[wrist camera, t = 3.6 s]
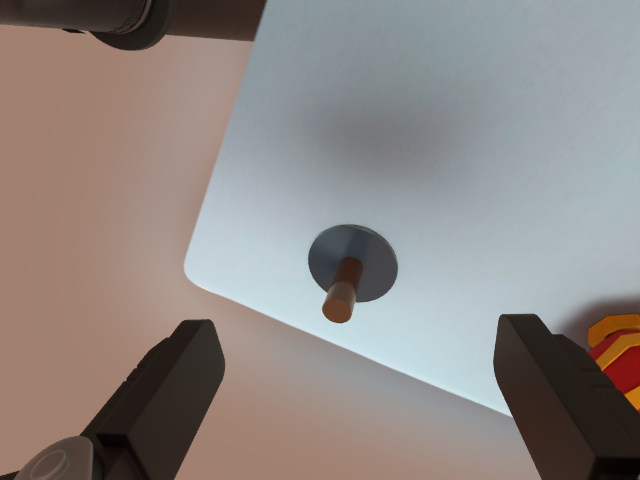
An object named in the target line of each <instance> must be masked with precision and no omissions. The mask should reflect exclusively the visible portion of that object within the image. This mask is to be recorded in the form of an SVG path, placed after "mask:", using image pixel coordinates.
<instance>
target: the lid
mask: <svg viewBox="0 0 640 480" xmlns="http://www.w3.org/2000/svg"><path fill="white" fill-rule="evenodd" d="M308 264H309V269H310V272H311V274H312V276H313V278H314V280H315V281H316V282H317V284H318V285H319V286H320V287H321V288H322V289H323V290H324V291H326V292H327V293H328V294H327V296H326V299H325V301H324V304H323V307H322V311H323V314H324V315H325V317H326V318H327V319H329V320H330V321H332V322H335V323H344V322H347V321H348V320H349V319H350V318H351V316H352V312H353V308H354V304H355V302H358V303H359V302H368V301H372V300H375V299H377V298H380V297H381V296H383V295H384V294H386V293H387V292H388V291H389V290H390V289H391V287H392V286H393V284H394V282H395V280H396V277H397V270H398V263H397V258H396V255H395V253H394V251H393V249H392V247H391V246H390V245H389V243H388V242H387V241H386V240H385V239H384V238H383V237H381V236H380V235H379V234H377V233H376V232H374V231H372V230H370V229H367V228H365V227H361V226H357V225H340V226H336V227H332V228H330V229H328V230H326V231H324V232H323V233H321V234H320V235H319V236H318V237H317V238H316V239H315V241H314V242H313V244H312V246H311V248H310V251H309V256H308Z"/></svg>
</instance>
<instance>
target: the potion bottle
mask: <svg viewBox="0 0 640 480" xmlns="http://www.w3.org/2000/svg"><path fill="white" fill-rule="evenodd" d="M588 345H590V346H591V347H593V348H592V349H591V350H590V352H589V355H590V356H591V357H592V358H593V359H594V361H595V362H596V363H597V364H598V365H599V366H600V368H601V371H602V372H605V373H606V375H607V376H608V377H609V378H610V379H611V380H612V382H613V383H614V384H615V387H616V389H619V390H620V391H621V392H622V393H623V394H624V395H625V397H626V398H627V399H628V400H629V401H630V402H631V404H632V405H633V406H634V407H635V408H636V409H637V411H638V412H639V413H640V316H639V315H637V314H628V315H614V316H607V317H605V318H604V319H602V320H601V321H599V322H598V323H596V324H595V325H593V326H592V327H590V328H589V329H588Z"/></svg>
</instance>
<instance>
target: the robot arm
mask: <svg viewBox="0 0 640 480" xmlns="http://www.w3.org/2000/svg"><path fill="white" fill-rule="evenodd" d="M154 4H155V0H0V24H2V25H15V26H30V27H43V28H57V29H62V30H65V31H67V32H70V33H84V32H81V31H79V30H85V31H100V32H106V33H111V34H123V35H124V34H131V33H134V32H136V31H138V30H139V29H141V28H142V27H143V26H144V25H145V24H146V22H147V21H148V20H149V18H150V16H151V14H152V11H153V8H154ZM493 365H494V372H495V377H496V380H497V383H498V386H499V388H500V390H501V392H502V394H503V396H504V399H505V401H506V403H507V405H508V407H509V409H510V412H511V414H512V416H513V418H514V420H515V422H516V425H517V427H518V429H519V431H520V433H521V435H522V437H523V440H524V442H525V444H526V446H527V449H528V451H529V453H530V455H531V457H532V459H533V461H534V463H535V466H536V468H537V470H538V472H539V475H540V477H541V479H542V480H640V413H639V412H638V411H637V409H636V408H635V407H634V406H633V405H632V404H631V402H630V401H629V400H628V399H627V398H626V397H625V395H624V394H623V393H622V392H621V391H620V390H619V389H616V387H615V384H614V383H613V382H612V380H611V379H610V378H609V377H608V376H607V375H606V373H605V372H602V371H601V368H600V366H599V365H598V364H597V363H596V362H595V361H594V359H593V358H592V357H591V356H590V355H589V354H588V352H587V351H586V350H585V349H583V348H582V347H580V346H579V345H577V344H576V343H575V342H573V341H572V340H570V339H569V338H567V337H566V336H564V335H563V334H552V333H551V332H550V331H549V330H548V328H547V327H546V326H545V324H544V323H543V322H542V321H541V319H540V318H539V317H538V316H537V315H536V314H502V315H501V316H500V317H499V321H498V328H497V336H496V343H495V351H494V359H493ZM224 371H225V359H224V355H223V352H222V349H221V345H220V342H219V339H218V336H217V332H216V329H215V327H214V324H213V322H212V321H211V320H209V319H206V320H205V319H202V320H184V321H182V322H181V323H180V324H179V326H178V327H177V328H176V329H175V331H174V332H173V333H172V335H171V336H170V337H169V338H165V339H164V340H162V341H161V342H160V343H158V344H157V345H156V346H154V347H153V348H152V349H151V350H149V351H148V353H147V354H146V355H145V356H144V358H143V359H142V360H141V361H140V362H139V364H138V365H137V368H135V369H134V370H133V371H132V372H131V373H130V375H129V376H128V377H127V380H126V381H124V382H123V383H122V384H121V386H120V387H119V388H118V389H117V391H116V392H115V393H114V394H113V395H112V397H111V398H110V399H109V400H108V401H107V403H106V404H105V405H104V406H103V407H102V409H101V410H100V411H99V413H98V414H97V415H96V416H95V417H94V419H93V420H92V421H91V422H90V424H89V425H88V426H87V427H86V428H85V430H84V431H83V432H82V433H81V434H80V435H79V436H74V437H69V438H66V439H63V440H61V441H58V442H56V443H54V444H52V445H50V446H49V447H47V448H46V449H44V450H43V451H41V452H40V453H38V454H37V455H36V456H35V457H34V458H32V459H31V460H30V461H29V462H28V463H27V464H26V465H25V466H24V467H23V468H22V469H21V470H20V471H17V472H13V473H9V474H6V475H2V476H0V480H174V478H175V476H176V474H177V472H178V470H179V468H180V466H181V464H182V462H183V460H184V458H185V456H186V454H187V452H188V450H189V448H190V445H191V443H192V441H193V439H194V437H195V435H196V433H197V431H198V429H199V427H200V425H201V423H202V421H203V419H204V416H205V415H206V412H207V410H208V408H209V406H210V404H211V402H212V400H213V398H214V396H215V394H216V392H217V390H218V388H219V386H220V383H221V382H222V379H223V376H224Z"/></svg>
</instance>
